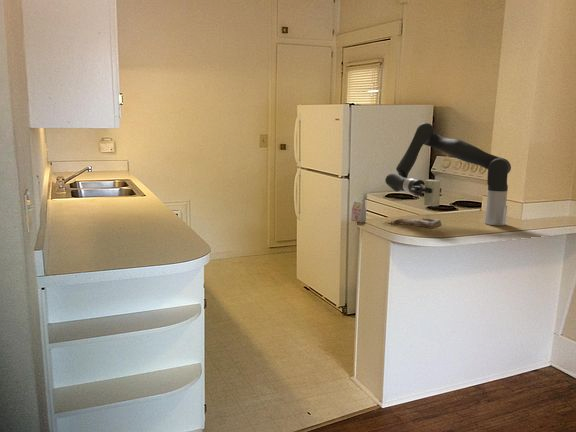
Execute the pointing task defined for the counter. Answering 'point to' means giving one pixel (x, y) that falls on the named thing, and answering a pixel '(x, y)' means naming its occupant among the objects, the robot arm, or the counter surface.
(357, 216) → the pink printed carton
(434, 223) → the dock board
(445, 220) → the counter surface
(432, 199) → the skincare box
